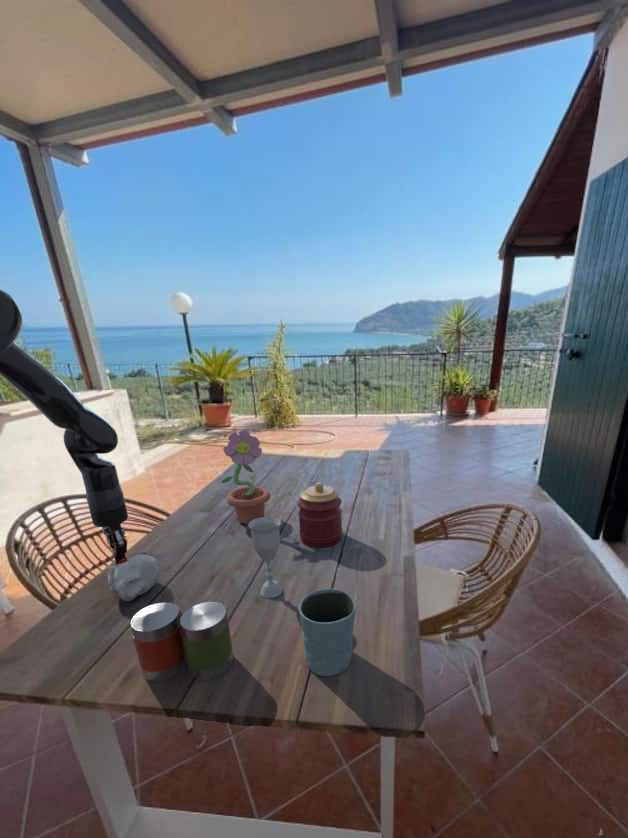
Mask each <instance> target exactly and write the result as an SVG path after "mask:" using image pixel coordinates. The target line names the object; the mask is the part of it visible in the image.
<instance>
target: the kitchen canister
mask: <svg viewBox="0 0 628 838" xmlns="http://www.w3.org/2000/svg"><path fill="white" fill-rule="evenodd" d="M339 494H340V493H339V491H338V490H337V489H335V488H333V487H331V486H329V485H324V484H323V483H322V482H317V483H314V485H313V486H309V487H307V488H305V489H304V490H303V491H301V492H300V494H299V497H300V498H299V500H298V501H297V506H298V507H299V510H298V513H297V514H298V521H299V531H298V532H299V538H300V541H301V542H302V543H303V544H305V545H307V546H311V547H314V548H315V547H316V548H319V547H320V548H321V547H322V548H323V547H328V546H332V545H335V544H337V543H338V542H340V541H341V539H342V535H343V526H342V525H343V523H342V522H343V521H342V513H343V510H342V508H341V505H342V502H343V500H342V498H341V497H339Z"/></svg>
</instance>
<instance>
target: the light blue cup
mask: <svg viewBox="0 0 628 838" xmlns="http://www.w3.org/2000/svg"><path fill="white" fill-rule="evenodd" d="M356 611H357V603H356V600H355V598H354V597H353V596H352V595H351V594H350V593H348V592H346V591H344V590H341V589H338V588H337V589H336V588H323V589H318V590H315V591H312V592H310V593H308V594H306V595H305V596H304V597H303V598H302V599H301V600H300V602H299V604H298V613H299V619H300V626H301V630H302V641H303V646H304V656H305V663H306V665H307V668H308V670H310V671H311V672H312V673H313V674H315V675H317V676H320V677H334V676H337V675H339V674H341V673H343V672H344V671H346V670H347V669H348V667H349V666H350V664H351V661H352V655H353V653H352V650H353V638H354V629H355V628H354V626H355V619H356Z"/></svg>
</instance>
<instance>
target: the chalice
mask: <svg viewBox="0 0 628 838" xmlns="http://www.w3.org/2000/svg"><path fill="white" fill-rule="evenodd" d="M281 523H282V521H281V520H280V519H279V518H277V517H273V516H264V517H261V518H257V519H254V520H252V521H250V522H249V524H247V526H248V528H249V529H250V531H251V541H252V546H253V548H254V550H255V552H256V553H257V555H258V556H259V557H260V559H261V560H262V561H264V562H265V563H266V565H265V567H264V568H265V569H266V573H265V576H266V577H267V580H266V581H265V582H264V583H263V584H262V587H261V590H260V596H262V598H266V599H273V598H276V597H278V596H280V595H281V594H282V592H283V588H282V587H281V585H280V584H279V582H278V581H277V580H275V579H273V575H274V574H275V573H274V572H273V570H272V569H273V566H272V563H271V561H274V559H275V558H276V555H277V553H278V551H279V548H280V544H281V534H280V533H281V532H280V526H281Z"/></svg>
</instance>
